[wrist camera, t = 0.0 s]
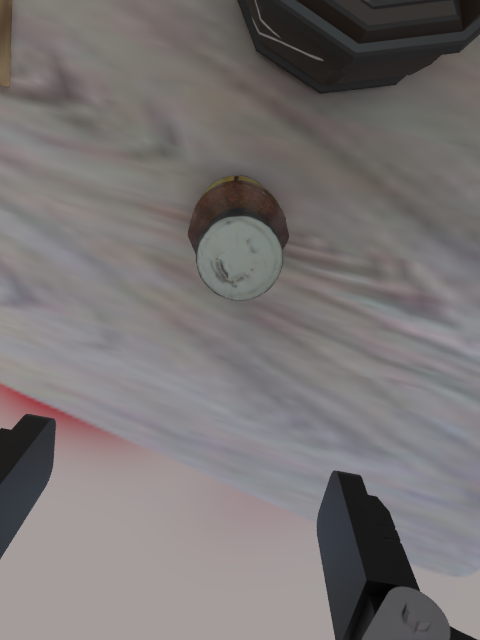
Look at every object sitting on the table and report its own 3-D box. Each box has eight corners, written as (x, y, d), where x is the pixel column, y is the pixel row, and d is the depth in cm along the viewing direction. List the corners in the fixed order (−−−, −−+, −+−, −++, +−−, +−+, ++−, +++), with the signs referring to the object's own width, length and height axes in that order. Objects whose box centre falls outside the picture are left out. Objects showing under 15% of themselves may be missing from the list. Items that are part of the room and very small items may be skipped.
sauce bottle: (202, 246, 40) (158, 323, 21) (201, 173, 38) (153, 187, 19) (274, 248, 40) (295, 328, 21) (279, 175, 38) (305, 192, 19)
